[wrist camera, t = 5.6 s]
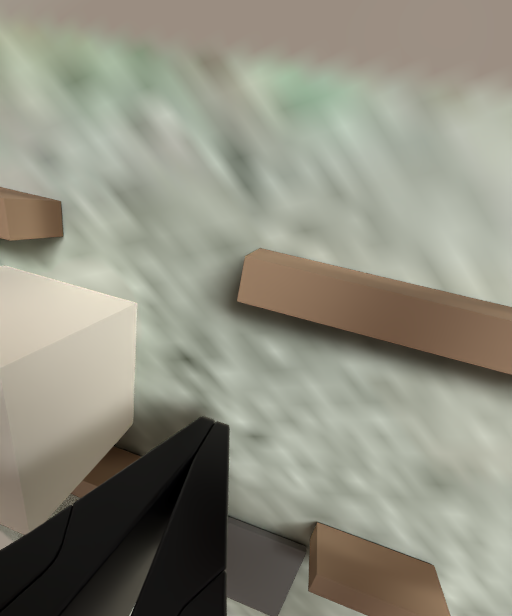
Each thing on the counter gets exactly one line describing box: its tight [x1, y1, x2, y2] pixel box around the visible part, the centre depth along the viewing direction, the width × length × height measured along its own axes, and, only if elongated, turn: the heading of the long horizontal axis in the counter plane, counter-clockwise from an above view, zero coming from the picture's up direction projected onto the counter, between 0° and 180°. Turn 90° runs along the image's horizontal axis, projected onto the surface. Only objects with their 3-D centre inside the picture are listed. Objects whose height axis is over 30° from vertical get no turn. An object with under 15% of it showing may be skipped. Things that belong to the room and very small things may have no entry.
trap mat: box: [226, 517, 306, 616], centre depth 11 cm, size 7×5×1 cm
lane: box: [0, 187, 512, 616], centre depth 8 cm, size 18×10×2 cm, turn 78°
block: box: [0, 265, 137, 535], centre depth 8 cm, size 5×5×4 cm
